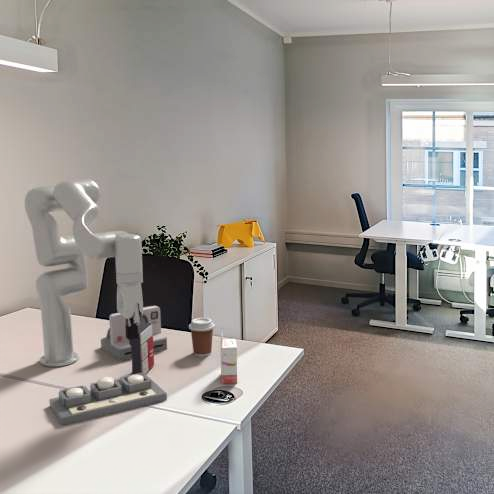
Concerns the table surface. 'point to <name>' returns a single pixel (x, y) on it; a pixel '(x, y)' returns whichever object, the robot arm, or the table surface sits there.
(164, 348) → the instant camera
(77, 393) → the button
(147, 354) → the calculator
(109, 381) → the button
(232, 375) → the ink cartridge box
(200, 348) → the coffee cup
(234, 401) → the table surface
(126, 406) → the switch panel
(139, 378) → the button
